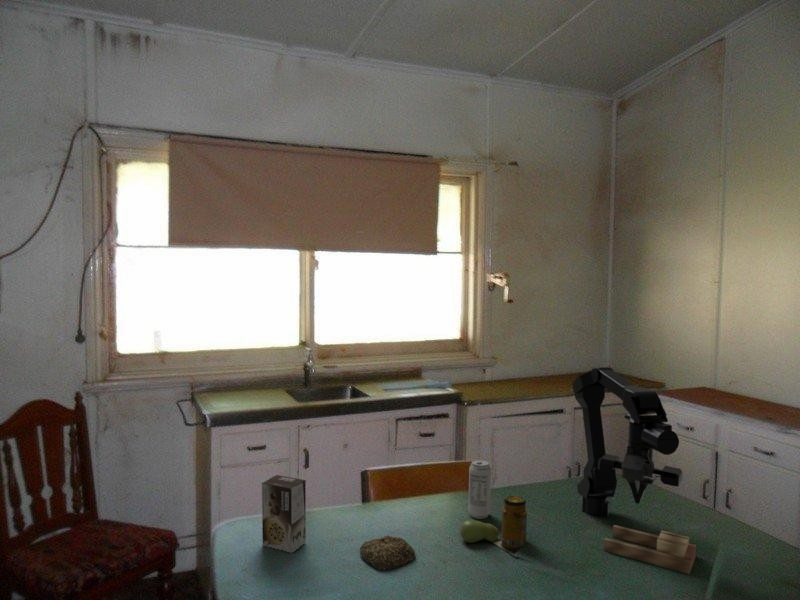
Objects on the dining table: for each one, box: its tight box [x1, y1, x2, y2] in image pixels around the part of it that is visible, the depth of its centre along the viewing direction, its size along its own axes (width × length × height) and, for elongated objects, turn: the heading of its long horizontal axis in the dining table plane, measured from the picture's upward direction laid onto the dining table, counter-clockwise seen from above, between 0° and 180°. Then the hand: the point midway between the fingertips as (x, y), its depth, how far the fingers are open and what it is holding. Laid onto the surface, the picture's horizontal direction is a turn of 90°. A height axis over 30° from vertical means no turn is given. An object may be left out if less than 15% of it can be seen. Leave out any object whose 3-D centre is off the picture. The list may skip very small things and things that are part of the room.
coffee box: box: [261, 474, 307, 554], centre depth 147 cm, size 9×6×16 cm
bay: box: [602, 524, 697, 575], centre depth 143 cm, size 19×13×4 cm
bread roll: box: [359, 535, 416, 571], centre depth 143 cm, size 13×12×5 cm
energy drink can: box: [467, 459, 492, 520], centre depth 166 cm, size 6×6×15 cm
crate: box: [656, 530, 690, 558], centre depth 140 cm, size 6×6×5 cm
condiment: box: [493, 495, 528, 558], centre depth 147 cm, size 7×8×12 cm
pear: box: [459, 519, 499, 544], centre depth 151 cm, size 6×5×10 cm
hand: (637, 503), depth 147 cm, fingers closed
